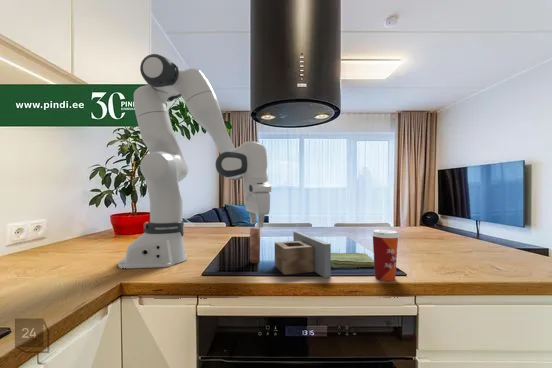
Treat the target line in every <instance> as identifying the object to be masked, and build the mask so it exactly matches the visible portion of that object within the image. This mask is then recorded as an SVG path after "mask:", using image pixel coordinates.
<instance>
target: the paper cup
mask: <svg viewBox="0 0 552 368" xmlns="http://www.w3.org/2000/svg"><path fill="white" fill-rule="evenodd" d="M398 233H399V232H398V231H396V230H393V229H374V230H373V231H372V233H371V236H372V244H373V245H372V248H373V249H372V250H373V260H374V268H373V269H374V278H375V279H376V280H379V281H382V282H393V281H395V280H396V273H397V257H398V240H399V237H400V235H399V234H398Z"/></svg>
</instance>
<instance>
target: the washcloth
mask: <svg viewBox="0 0 552 368" xmlns="http://www.w3.org/2000/svg"><path fill="white" fill-rule="evenodd" d="M357 267H359V269H361V268H360V267H374V258H373V257H371V256H370V255H369V254H367V253H364V252H331V269H358V268H357Z"/></svg>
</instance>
